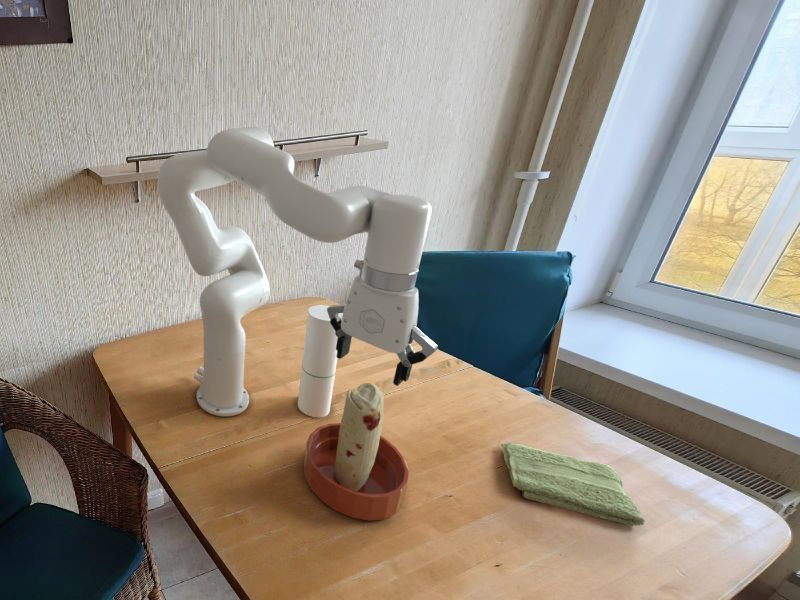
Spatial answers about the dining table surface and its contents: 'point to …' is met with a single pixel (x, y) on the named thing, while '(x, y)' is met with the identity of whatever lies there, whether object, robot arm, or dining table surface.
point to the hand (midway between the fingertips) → (369, 368)
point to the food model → (359, 436)
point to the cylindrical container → (318, 363)
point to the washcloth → (570, 483)
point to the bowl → (378, 491)
